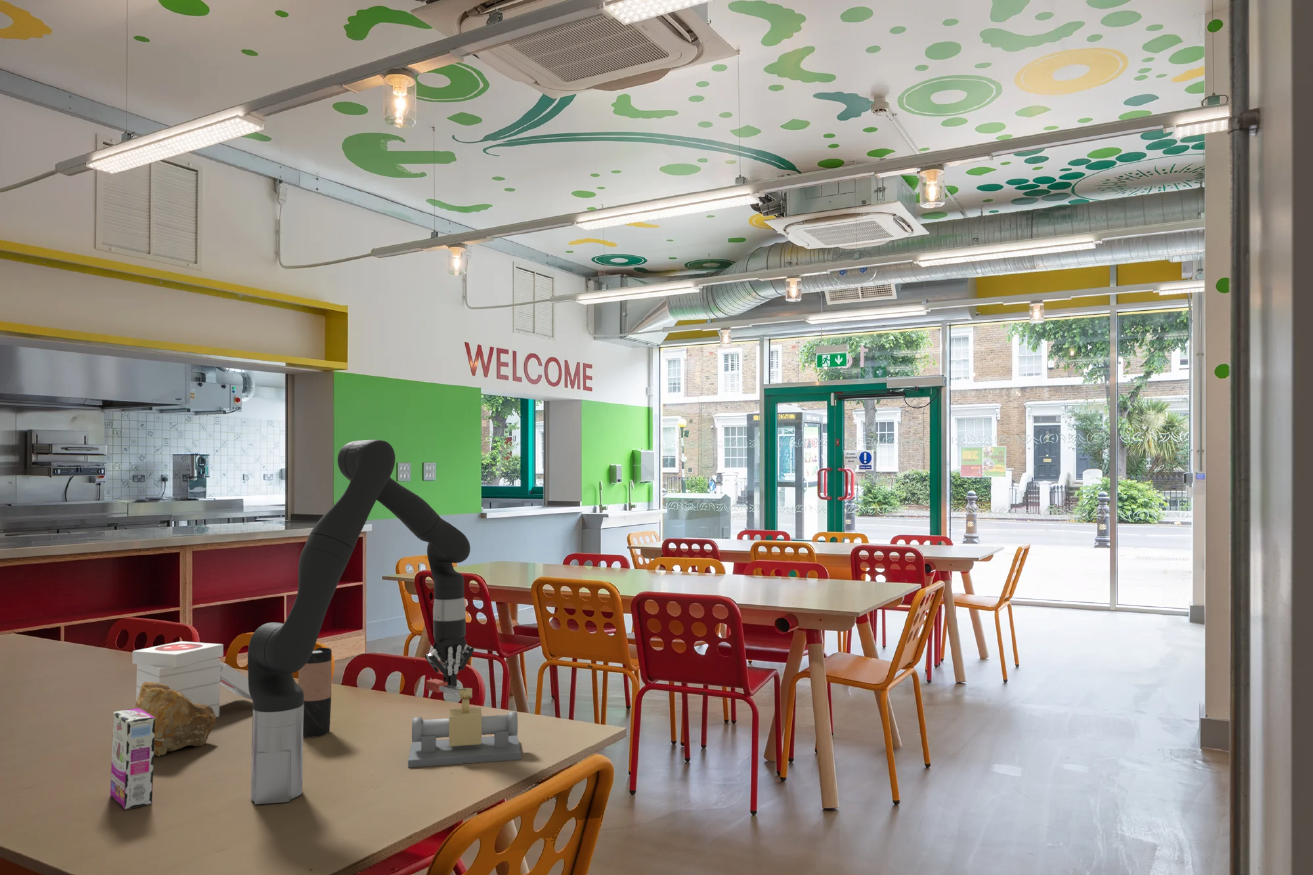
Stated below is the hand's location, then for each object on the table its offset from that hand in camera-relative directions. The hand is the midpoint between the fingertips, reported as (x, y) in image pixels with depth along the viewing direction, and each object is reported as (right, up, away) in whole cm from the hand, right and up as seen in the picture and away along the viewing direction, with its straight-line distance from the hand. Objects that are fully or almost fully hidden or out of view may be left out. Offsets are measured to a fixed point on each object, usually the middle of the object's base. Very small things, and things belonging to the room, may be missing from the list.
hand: (450, 690), depth 209 cm
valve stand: (+6, -11, -11) cm, 17 cm away
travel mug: (-35, -12, +5) cm, 37 cm away
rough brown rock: (-63, -12, -5) cm, 64 cm away
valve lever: (+1, +1, -6) cm, 6 cm away
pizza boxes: (-73, -13, +25) cm, 78 cm away
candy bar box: (-52, -10, -39) cm, 66 cm away
